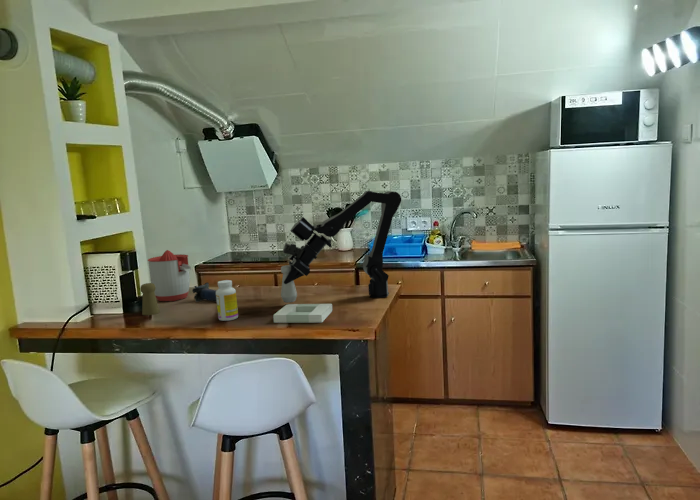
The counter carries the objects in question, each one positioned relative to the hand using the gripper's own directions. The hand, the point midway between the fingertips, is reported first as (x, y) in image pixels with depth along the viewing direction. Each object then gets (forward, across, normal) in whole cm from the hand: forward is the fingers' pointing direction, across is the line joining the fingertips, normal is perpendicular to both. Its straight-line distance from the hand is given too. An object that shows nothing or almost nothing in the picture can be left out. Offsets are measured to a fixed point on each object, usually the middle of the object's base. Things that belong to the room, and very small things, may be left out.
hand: (284, 282), depth 197 cm
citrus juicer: (+36, -33, -24) cm, 54 cm away
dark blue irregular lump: (+25, -21, -13) cm, 36 cm away
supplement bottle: (+20, +9, -8) cm, 24 cm away
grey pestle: (+4, 0, +6) cm, 7 cm away
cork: (+40, -11, -28) cm, 50 cm away
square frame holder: (+3, +18, +9) cm, 20 cm away
